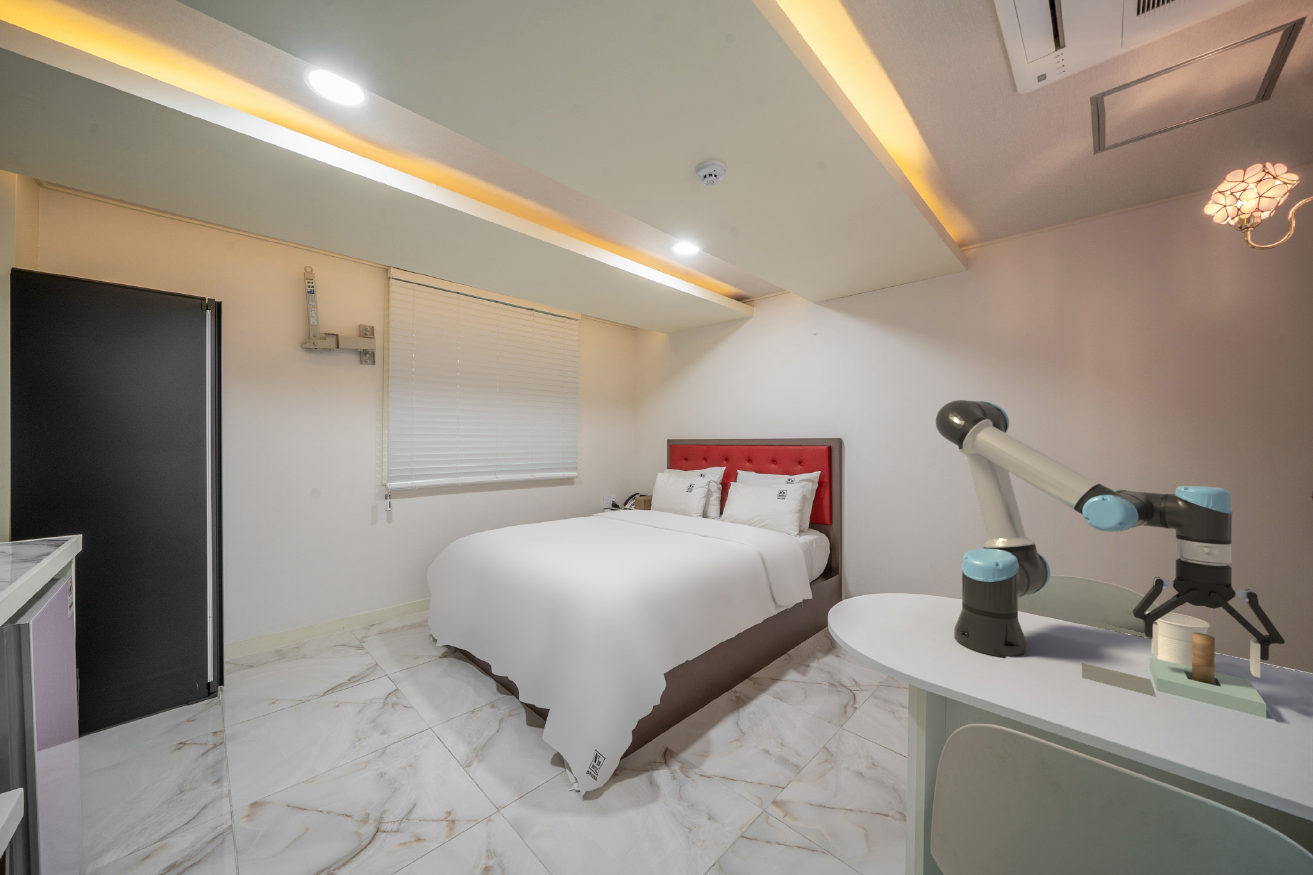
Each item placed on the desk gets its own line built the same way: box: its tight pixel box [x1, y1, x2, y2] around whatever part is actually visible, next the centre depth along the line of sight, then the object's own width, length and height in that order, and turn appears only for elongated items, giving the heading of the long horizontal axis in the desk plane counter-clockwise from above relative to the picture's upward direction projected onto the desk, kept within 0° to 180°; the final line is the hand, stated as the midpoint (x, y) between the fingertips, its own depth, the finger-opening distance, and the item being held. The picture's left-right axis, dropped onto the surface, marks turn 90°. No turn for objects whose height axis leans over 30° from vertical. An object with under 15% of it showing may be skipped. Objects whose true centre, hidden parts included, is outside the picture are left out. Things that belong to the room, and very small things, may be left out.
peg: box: [1192, 633, 1216, 685], centre depth 96 cm, size 3×3×12 cm
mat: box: [1081, 662, 1156, 698], centre depth 101 cm, size 11×9×1 cm
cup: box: [1145, 610, 1211, 667], centre depth 108 cm, size 10×10×11 cm
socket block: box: [1149, 657, 1267, 719], centre depth 96 cm, size 14×12×3 cm
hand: (1202, 663), depth 96 cm, fingers open, 13 cm apart
